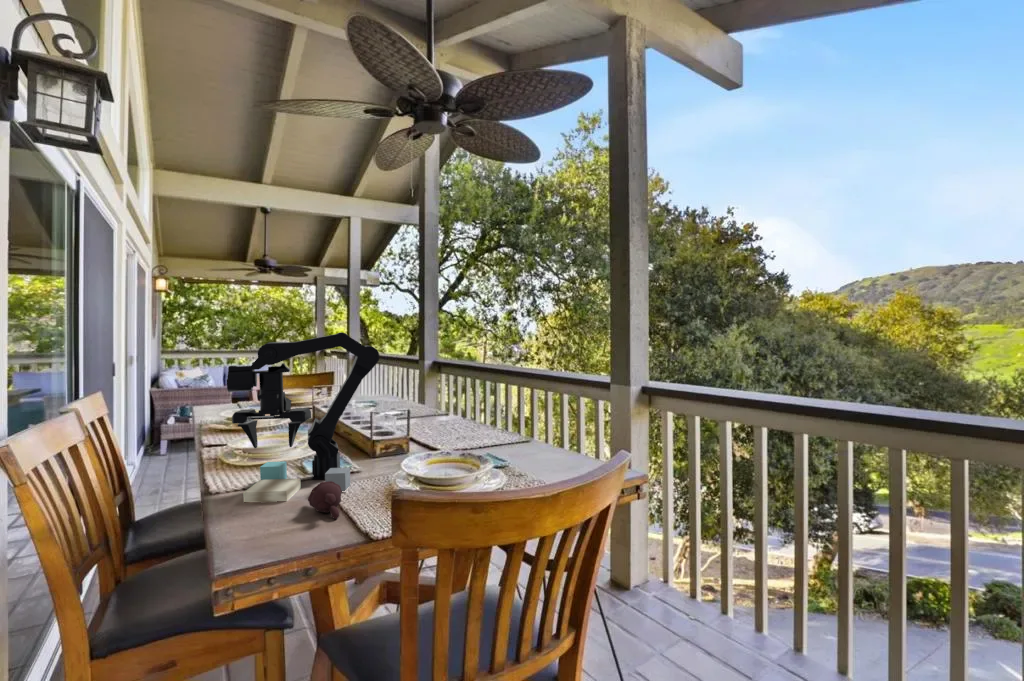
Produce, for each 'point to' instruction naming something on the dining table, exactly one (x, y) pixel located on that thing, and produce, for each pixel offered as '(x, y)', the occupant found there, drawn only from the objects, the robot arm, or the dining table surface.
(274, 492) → the birch block
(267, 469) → the teal cube
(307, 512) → the dining table surface
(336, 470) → the light grey cube
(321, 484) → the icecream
